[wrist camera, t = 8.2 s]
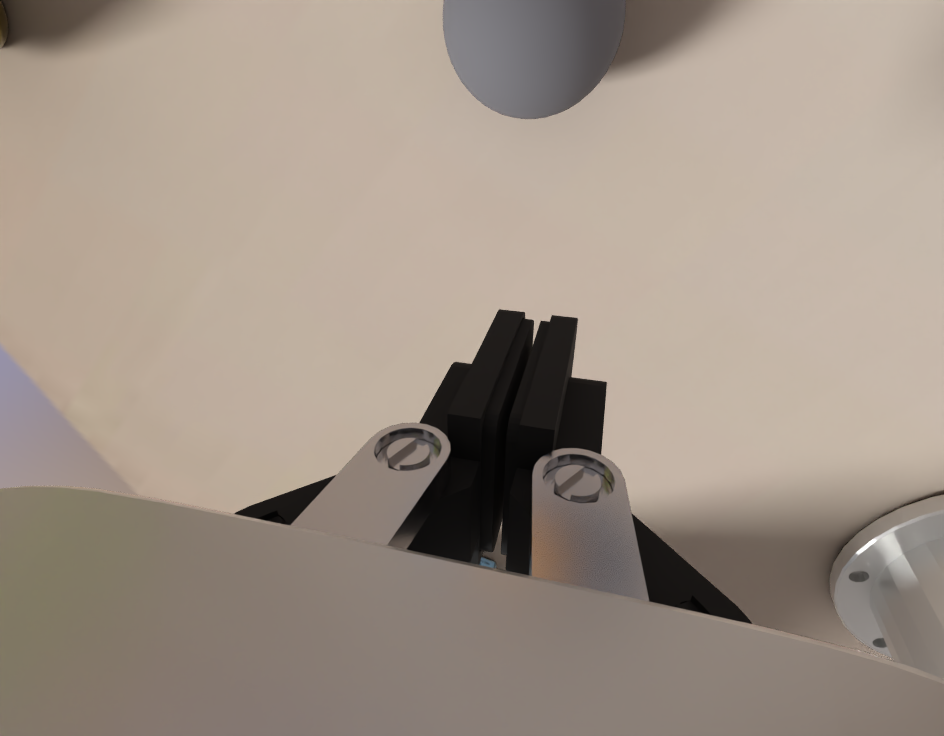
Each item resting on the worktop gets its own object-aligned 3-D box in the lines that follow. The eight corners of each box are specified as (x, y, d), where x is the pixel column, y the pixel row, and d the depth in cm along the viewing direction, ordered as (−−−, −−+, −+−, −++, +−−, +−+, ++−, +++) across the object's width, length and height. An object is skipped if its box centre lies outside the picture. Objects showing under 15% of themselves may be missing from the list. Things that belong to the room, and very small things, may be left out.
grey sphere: (607, 136, 16) (639, 85, 19) (599, -119, 12) (640, -121, 16) (435, 148, 18) (494, 99, 22) (389, -66, 14) (468, -79, 18)
